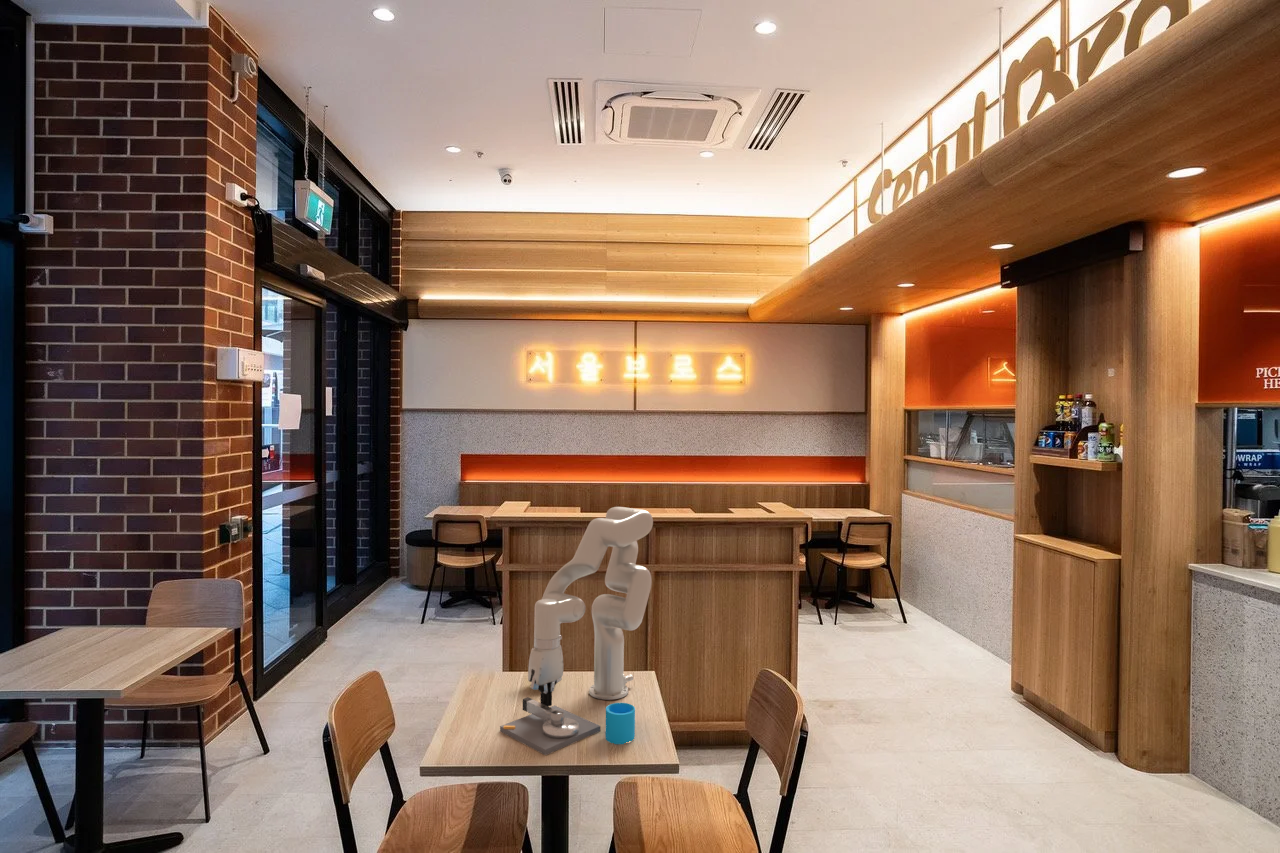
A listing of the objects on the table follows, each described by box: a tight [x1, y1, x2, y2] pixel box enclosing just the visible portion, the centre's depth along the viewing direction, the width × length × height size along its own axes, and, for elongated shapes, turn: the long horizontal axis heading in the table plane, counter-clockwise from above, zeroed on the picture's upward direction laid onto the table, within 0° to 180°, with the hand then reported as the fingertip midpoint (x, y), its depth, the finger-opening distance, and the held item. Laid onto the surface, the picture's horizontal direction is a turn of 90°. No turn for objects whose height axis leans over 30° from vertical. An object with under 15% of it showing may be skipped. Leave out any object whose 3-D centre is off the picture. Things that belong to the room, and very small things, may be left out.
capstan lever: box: [521, 696, 579, 739], centre depth 200 cm, size 10×21×5 cm, turn 47°
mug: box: [604, 702, 636, 745], centre depth 198 cm, size 12×8×8 cm
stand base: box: [499, 705, 601, 756], centre depth 199 cm, size 20×20×2 cm
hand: (546, 704), depth 206 cm, fingers closed
